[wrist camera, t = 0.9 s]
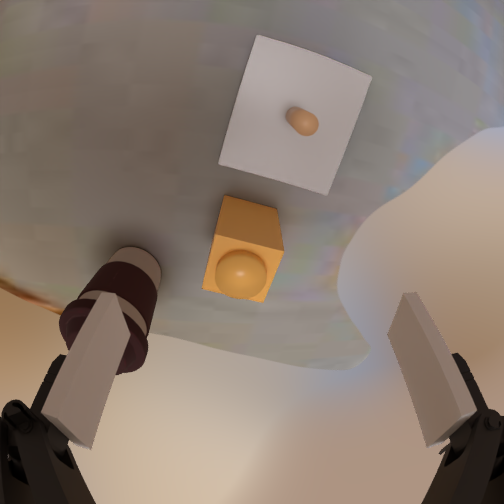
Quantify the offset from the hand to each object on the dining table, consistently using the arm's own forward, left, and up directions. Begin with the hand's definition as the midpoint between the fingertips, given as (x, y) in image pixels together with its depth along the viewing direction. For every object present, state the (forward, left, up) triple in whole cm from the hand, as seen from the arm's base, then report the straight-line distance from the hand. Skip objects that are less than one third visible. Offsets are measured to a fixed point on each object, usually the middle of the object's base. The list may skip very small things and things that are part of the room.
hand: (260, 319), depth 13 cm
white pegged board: (+2, +7, -21) cm, 22 cm away
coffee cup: (-12, -16, -21) cm, 29 cm away
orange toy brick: (0, -6, -21) cm, 22 cm away
